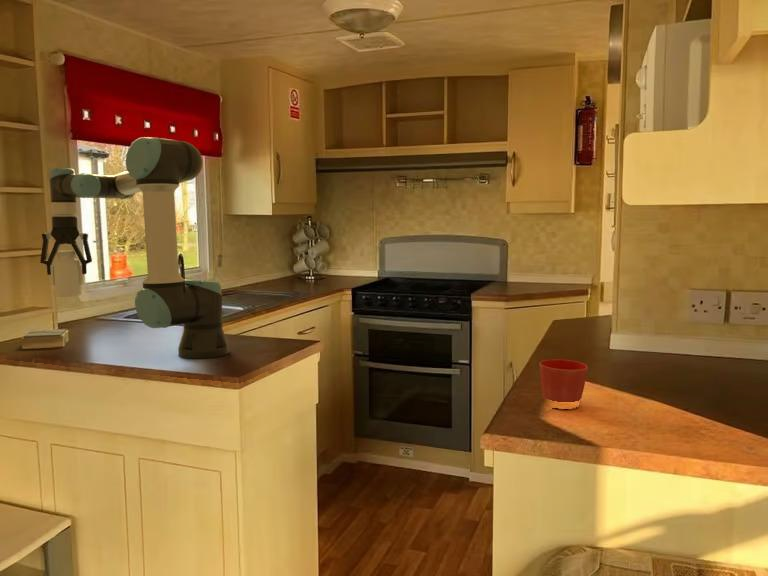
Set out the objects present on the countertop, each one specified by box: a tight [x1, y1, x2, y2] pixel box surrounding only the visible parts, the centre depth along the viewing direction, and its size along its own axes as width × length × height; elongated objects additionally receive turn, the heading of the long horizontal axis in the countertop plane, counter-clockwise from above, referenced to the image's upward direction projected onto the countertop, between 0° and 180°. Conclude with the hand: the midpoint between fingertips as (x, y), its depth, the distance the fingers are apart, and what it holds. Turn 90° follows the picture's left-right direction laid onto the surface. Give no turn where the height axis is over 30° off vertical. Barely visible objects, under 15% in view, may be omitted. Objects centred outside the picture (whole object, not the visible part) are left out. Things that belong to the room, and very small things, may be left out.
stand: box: [21, 328, 70, 350], centre depth 217 cm, size 12×12×4 cm
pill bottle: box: [52, 250, 82, 298], centre depth 217 cm, size 8×8×15 cm
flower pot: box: [538, 358, 589, 411], centre depth 149 cm, size 11×11×10 cm
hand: (67, 284), depth 218 cm, fingers closed on pill bottle, 8 cm apart
